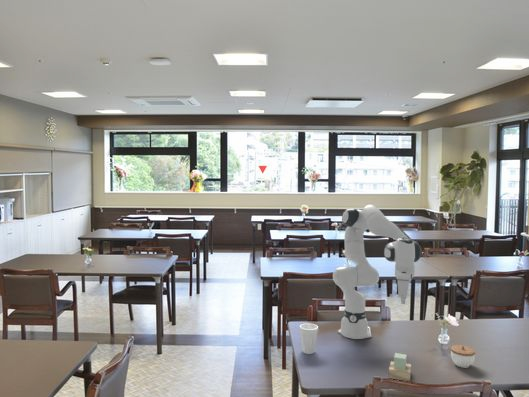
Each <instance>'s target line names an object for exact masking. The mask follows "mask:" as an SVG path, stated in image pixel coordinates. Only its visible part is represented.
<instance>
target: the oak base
mask: <svg viewBox="0 0 529 397" xmlns="http://www.w3.org/2000/svg"><path fill="white" fill-rule="evenodd" d="M411 376H412V364H411V363H406V370H403V369H397V368H394V360H393V361H392V360H391V361H390V364H389V366H388V379H394V380H399V381H405V382H411Z"/></svg>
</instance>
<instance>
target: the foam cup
mask: <svg viewBox="0 0 529 397" xmlns="http://www.w3.org/2000/svg"><path fill="white" fill-rule="evenodd" d="M299 334H300V341H301V342H300V343H301V352H302V353H303V354H306V355H311V354H314V353H316V352H315V351H316V344H317V338H318V334H319V326H318V325H317V324H314V323H309V322H308V323H302V324H300V325H299Z"/></svg>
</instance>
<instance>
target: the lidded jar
mask: <svg viewBox="0 0 529 397" xmlns="http://www.w3.org/2000/svg"><path fill="white" fill-rule="evenodd" d="M450 356H451V357H450V358H451V360H452V361H453V363H454V364H455V366H457V367H459V368H463V369H468V368H469V367H470V366H472V365H473V364H474V362H475V357H476V350H475V349H474V348H472V347H470V346H467V345H461V344H455V345H452V346H450Z"/></svg>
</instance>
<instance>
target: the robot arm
mask: <svg viewBox="0 0 529 397" xmlns="http://www.w3.org/2000/svg"><path fill="white" fill-rule="evenodd" d="M341 221H342V224H343V225H344V226H346V228H345V231H344V256H345V258H346V259H347V260H348V261H350V262H352V263H354V264H355V266H339V267H336V268H334V271H333V272H332V280H333V282H334V283H335V285H336V286H338V287H339V288H340V289H341V291H342V293H343V295H344V304H345V306H344V311H343V317H342V318H341V320H340V321H341V322H340V329H338V330H337V333H339V334H340V335H341V336H343V337H345V338H349V339H353V340H363V339H368V338H372V331H371V327H370V326H369V325H368V324H369V322H368V319H367V317H366V316H367V311H366V297H365V295H364V294H363V293H361V292H359V291H357V290H355V287H361V288H362V287H366V288H367V287H368V288H369V287H373V286H376V285H377V284H378V283H379V282H380V281H379V280H380V274H379V271H378V270H377V269H376V268H375V267H373V266H372V264H370V263H369V261H368V259H367V257H366V251H365V240H364V233H365V232H366V233H372V234H373V235H375V236H378V237H386V238H390V239H393V240H395V241H392V242H388V243H387V244H386V245H385V246H384V248H383V256H384V258H385V259H386V260H387V261H388V262H391V263H395V265H394V275H395V278H396V279H397V292H398V296H399V297H400V303H401V305H405V304H406V299H407V297H408V292H409V289H410V282H411V281H412V279H413V278H414V277H415V269H416V266H415V263H416V262H418V261H419V260H420V259H421V257H422V255H423V250H422V247H421V245H420V244H419V243H418V242H417V241H415V240H413V239H412V238H411V237H410V236H409V235H408V234H407V233H406V232H405V231H404V230H403V229H402V227H400V226H399V225H397V224H396V223H394V222H392V221H391V220H390V219H388V218H387V217H386V215H385V214H384V213H383V212H382V211H381V210H380V209H379V208H378V207H377V206H375V205H373V204H368V205H366V206H364V207H363V208H362V209H359V208H357V209H356V208H347V209H345V210H344V211H343V212H342V215H341Z"/></svg>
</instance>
